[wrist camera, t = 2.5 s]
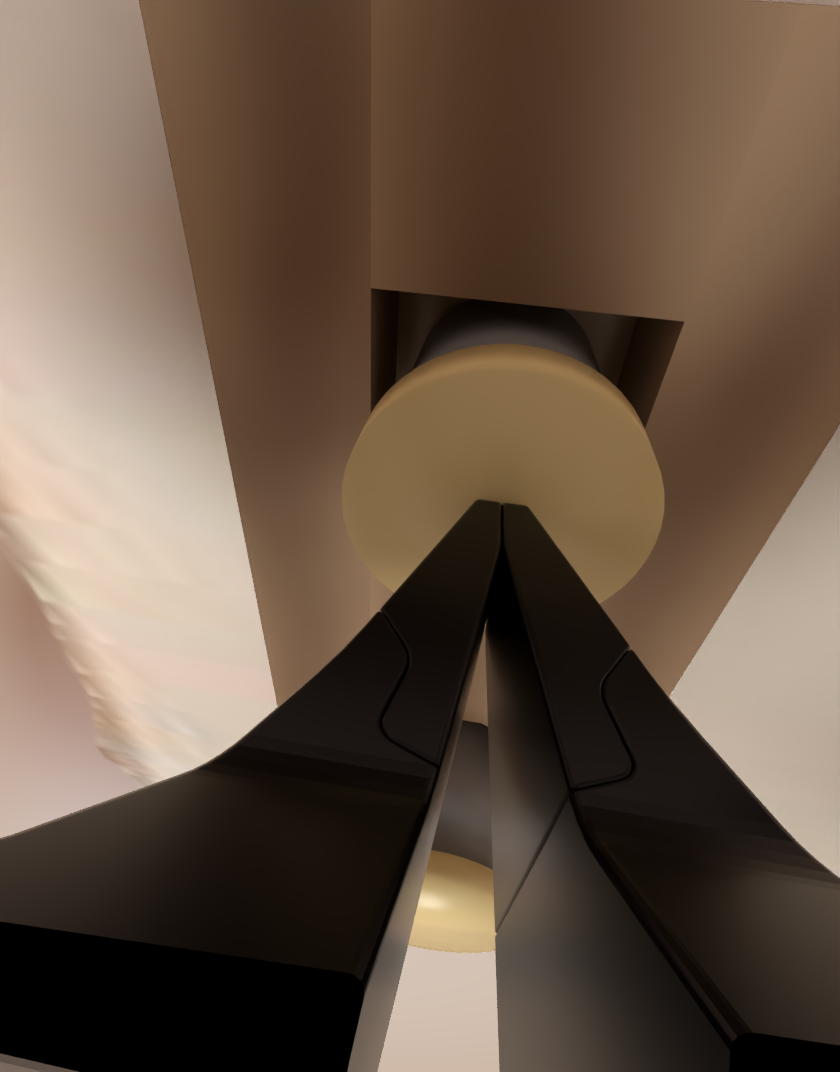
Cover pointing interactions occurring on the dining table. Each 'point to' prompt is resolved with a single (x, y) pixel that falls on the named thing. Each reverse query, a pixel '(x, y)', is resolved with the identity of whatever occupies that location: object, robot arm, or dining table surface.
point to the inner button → (461, 857)
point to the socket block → (510, 257)
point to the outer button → (505, 448)
